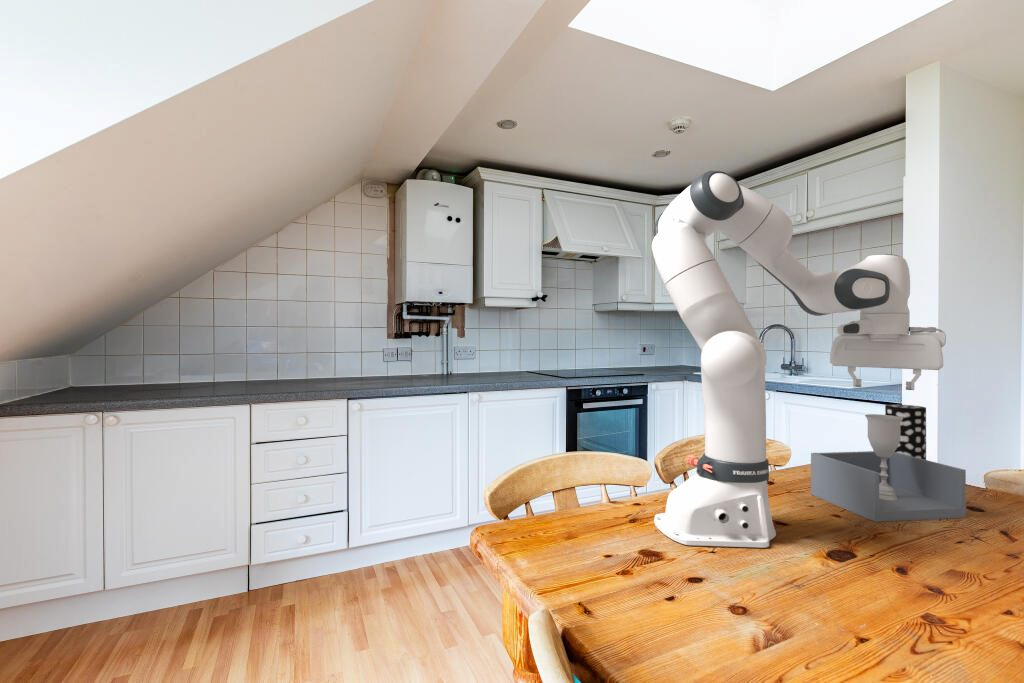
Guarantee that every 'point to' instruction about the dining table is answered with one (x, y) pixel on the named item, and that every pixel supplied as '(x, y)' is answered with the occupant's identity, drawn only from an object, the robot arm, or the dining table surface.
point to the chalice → (884, 446)
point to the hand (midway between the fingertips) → (882, 388)
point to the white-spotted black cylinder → (910, 429)
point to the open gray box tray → (913, 480)
